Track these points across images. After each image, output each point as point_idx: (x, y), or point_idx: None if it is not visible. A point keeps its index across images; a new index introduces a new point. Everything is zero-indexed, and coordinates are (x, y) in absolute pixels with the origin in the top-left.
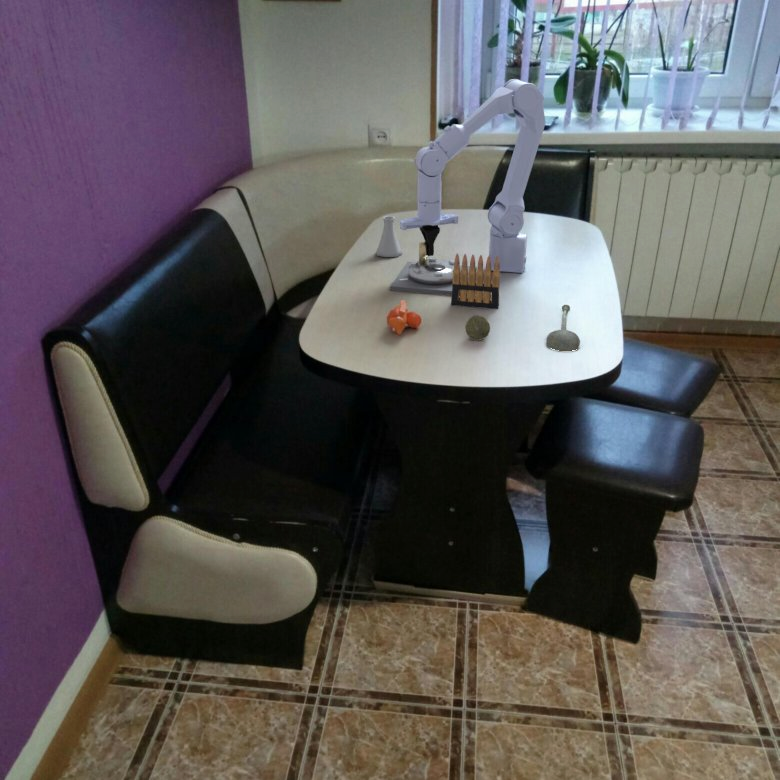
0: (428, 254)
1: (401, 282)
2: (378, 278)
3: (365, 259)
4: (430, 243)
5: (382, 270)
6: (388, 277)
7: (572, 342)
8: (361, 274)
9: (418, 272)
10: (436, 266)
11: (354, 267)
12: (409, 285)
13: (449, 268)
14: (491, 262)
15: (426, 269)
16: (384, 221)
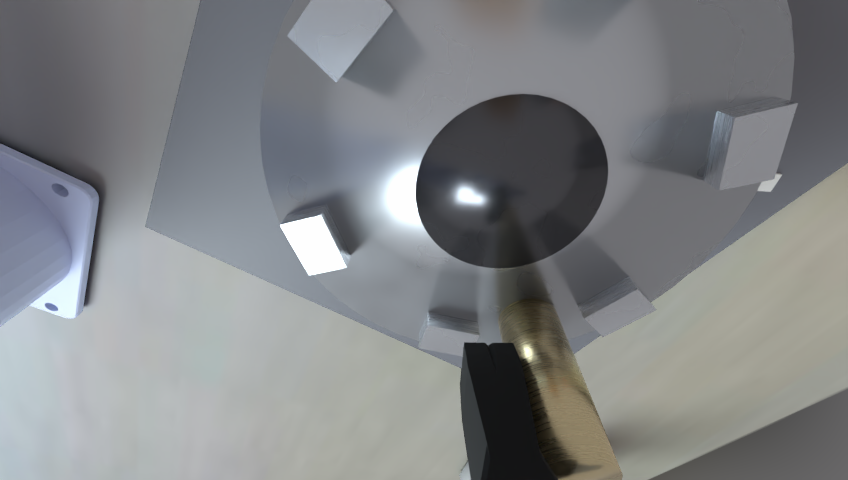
0: (516, 353)
1: (814, 128)
2: (766, 290)
3: (626, 454)
4: (533, 460)
5: (658, 363)
6: (709, 286)
7: None
8: (782, 355)
9: (768, 103)
10: (485, 213)
11: (730, 416)
12: (832, 26)
13: (389, 133)
14: (10, 221)
15: (607, 178)
16: None
